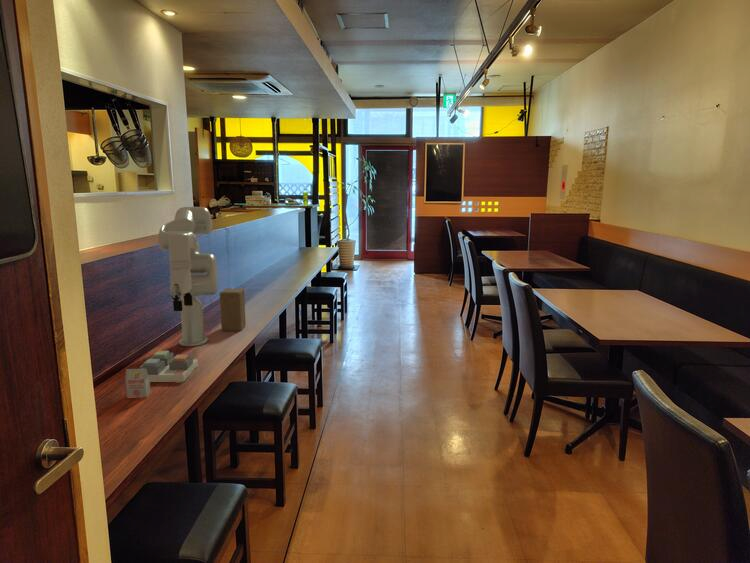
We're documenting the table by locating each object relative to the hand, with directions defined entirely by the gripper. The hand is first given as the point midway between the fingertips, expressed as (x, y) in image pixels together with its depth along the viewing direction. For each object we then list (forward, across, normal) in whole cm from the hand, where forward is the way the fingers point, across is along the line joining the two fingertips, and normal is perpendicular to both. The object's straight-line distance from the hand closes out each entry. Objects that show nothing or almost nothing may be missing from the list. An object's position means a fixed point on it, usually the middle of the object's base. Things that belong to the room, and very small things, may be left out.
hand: (183, 308), depth 188 cm
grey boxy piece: (+25, +28, -6) cm, 38 cm away
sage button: (+19, +4, -8) cm, 21 cm away
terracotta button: (+20, +8, +1) cm, 21 cm away
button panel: (+24, +8, -4) cm, 26 cm away
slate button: (+20, +13, -8) cm, 25 cm away
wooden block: (+23, -53, +2) cm, 58 cm away
